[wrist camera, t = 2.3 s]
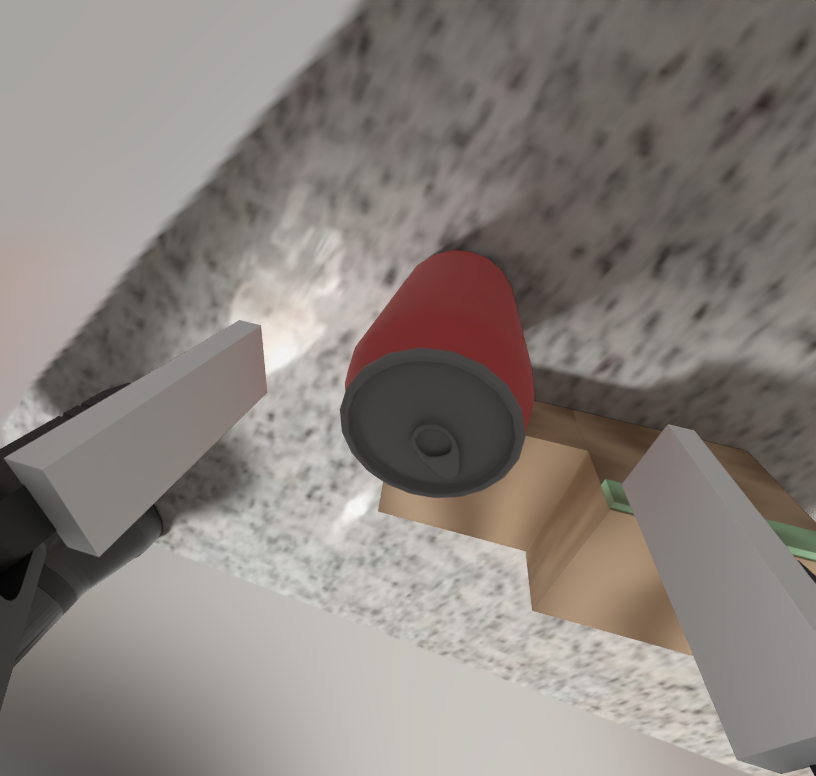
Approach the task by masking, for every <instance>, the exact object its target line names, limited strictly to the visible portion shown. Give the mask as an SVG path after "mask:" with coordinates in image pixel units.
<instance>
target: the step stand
mask: <svg viewBox="0 0 816 776" xmlns="http://www.w3.org/2000/svg"><path fill="white" fill-rule="evenodd" d="M661 433H662V431H660V430H656V429H652V428H648V427H644V426H639V425H635V424H631V423H627V422H623V421H618V420H614V419H610V418H606V417H601V416H597V415H593V414H589V413H585V412H580V411H576V410H572V409H568V408H563V407H559V406H555V405H551V404H547V403H542V402H538V401H534V404H533V408H532V412H531V415H530V419H529V422H528V426H527V429H526V432H525V436H526V437H525V441H524V444H523V447H522V451H521V454H520V458H519V460H518V461H517V462H516V464H515V465H514V466H513V467H512V469H511V470H510V471H509V472H508V474H507V475H506V476H505V477H504V478H503V479H501V480H499V481H498V482H496V483H495V484H493V485H491V486H490V487H488V488H487V489H485V490H483V491H479V492H476V493H472V494H469V495H465V496H462V497H450V498H431V497H426V496H420V495H414V494H410V493H407V492H405V491H402V490H400V489H397V488H395V487H392V486H390V485H388V484H386V483H385V482H383V486H382V492H381V498H380V503H379V509H378V511H379V512H382V513H386V514H390V515H394V516H397V517H401V518H405V519H408V520H412V521H416V522H420V523H423V524H427V525H431V526H434V527H438V528H442V529H446V530H449V531H453V532H457V533H460V534H464V535H468V536H472V537H475V538H479V539H483V540H486V541H490V542H494V543H498V544H501V545H505V546H509V547H512V548H516V549H520V550H523V551H526V558H527V568H528V577H529V586H530V595H531V604H532V611H536V612H539V613H543V614H546V615H550V616H553V617H557V618H560V619H564V620H568V621H571V622H575V623H578V624H582V625H585V626H589V627H592V628H596V629H599V630H603V631H607V632H610V633H614V634H617V635H621V636H624V637H628V638H631V639H635V640H639V641H642V642H646V643H649V644H653V645H656V646H660V647H663V648H667V649H671V650H674V651H678V652H681V653H685V654H688V655H692V656H693V654H692V651H691V649H690V647H689V644H688V642H687V640H686V637H685V635H684V632H683V630H682V628H681V625H680V623H679V621H678V618H677V616H676V613H675V611H674V609H673V606H672V604H671V601H670V599H669V597H668V594H667V592H666V590H665V587H664V585H663V582H662V580H661V578H660V575H659V573H658V570H657V568H656V566H655V563H654V561H653V559H652V556H651V554H650V551H649V549H648V547H647V544H646V542H645V539H644V537H643V535H642V532H641V530H640V528H639V525H638V523H637V520H636V518H635V516H634V513H633V511H632V509H631V506H630V504H629V501H628V499H627V497H626V494H625V492H624V489H623V487H622V483H623V482H624V481H625V479H626V478H627V477H628V476H629V474H630V473H631V472H632V470H633V469H634V468H635V466H636V465H637V464H638V462H639V461H640V460H641V459H642V457H643V456H644V455H645V453H646V452H647V451H648V449H649V448H650V447H651V446H652V444H653V443H654V442H655V440H656V439H657V438H658V436H659V435H660V434H661ZM702 441H703V440H702ZM703 442H704V443H705V445H706V446H707V447H708V448H709V450H710V451H711V452H712V453H713V455H714V456H715V457H716V458H717V460H718V461H719V462H720V464H721V465H722V466H723V467H724V469H725V470H726V471H727V472H728V474H729V475H730V476H731V477H732V479H733V480H734V481H735V483H736V484H737V485H738V486H739V488H740V489H741V490H742V491H743V493H744V494H745V495H746V496H747V498H748V499H749V500H750V501H751V503H752V504H753V505H754V507H755V508H756V509H757V510H758V512H759V513H760V514H761V515H762V517H763V518H764V519H765V520H766V522H767V523H768V524H769V525H770V527H771V528H772V529H773V531H774V532H775V533H776V534H777V536H778V537H779V538H780V539H781V541H782V542H783V543H784V544H785V546H786V547H787V548H788V549H789V551H790V552H791V553H792V555H793V556H794V557H795V558H796V560H799V561H800V562H801V563H802V564H803V565H804V566H806V567H807V568H808V569H809V570H810V571H811V572H812V573H813V574H814V575H816V522H815V521H814V520H813V519H812V518H811V517H810V516H809V515H808V514H807V513H806V512H805V511H804V510H803V509H802V507H801V506H800V505H799V504H798V503H797V502H796V501H795V500H794V499H793V498H792V497H791V496H790V495H789V494H788V493H787V492H786V491H785V490H784V489H783V488H782V487H781V486H780V484H779V483H778V482H777V481H776V480H775V479H774V478H773V477H772V476H771V475H770V474H769V473H768V472H767V471H766V470H765V469H764V468H763V467H762V466H761V465H760V464H759V463H758V461H757V460H756V459H755V458H754V457H753V456H752V455H751V454H750V453H749V452H748V451H745V450H741V449H736V448H732V447H728V446H724V445H720V444H715V443H711V442H707V441H703Z"/></svg>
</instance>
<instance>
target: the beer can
mask: <svg viewBox="0 0 816 776" xmlns="http://www.w3.org/2000/svg"><path fill="white" fill-rule="evenodd" d="M534 398H535V391H534V382H533V373H532V367H531V363H530V359H529V354H528V350H527V346H526V342H525V338H524V334H523V330H522V326H521V322H520V318H519V314H518V310H517V306H516V302H515V298H514V294H513V290H512V288H511V286H510V284H509V282H508V280H507V278H506V276H505V274H504V272H503V271H501V270H500V269H499V268H498V267H497V266H496V265H495V264H494V263H493V262H492V261H491V260H490V259H488V258H485V257H483V256H481V255H478V254H476V253H474V252H470V251H457V250H451V251H447V252H443V253H439V254H435V255H433V256H431V257H430V258H428V259H426V260H425V261H423V262H422V263H420V264H419V265H417V267H416V268H415V269H414V270H413V272H412V273H411V274H410V275H409V277H408V278H407V279H406V281H405V282H404V283H403V285H402V286H401V287H400V289H399V290H398V291H397V293H396V294H395V295H394V297H393V298H392V299H391V300H390V302H389V303H388V304H387V306H386V307H385V308H384V310H383V311H382V312H381V314H380V315H379V316H378V318H377V319H376V320H375V322H374V323H373V324H372V326H371V327H370V328H369V330H368V331H367V332H366V334H365V335H364V336H363V338H362V339H361V340H360V342H359V343H358V344H357V346H356V347H355V350H354V353H353V356H352V359H351V363H350V366H349V369H348V373H347V377H346V381H345V395H344V398H343V402H342V405H341V408H340V415H341V427H342V433H343V435H344V437H345V439H346V442H347V444H348V446H349V448H350V450H351V452H352V454H353V455H354V456H355V457H356V458H357V459H358V460H359V462H360V463H361V464H362V465H363V466H364V467H365V468H366V470H368V471H369V472H370V473H372V474H373V475H375V476H376V477H377V478H379V479H380V480H382V481H383V482H385V483H386V484H388V485H390V486H392V487H395V488H397V489H400V490H402V491H405V492H407V493H410V494H414V495H420V496H426V497H431V498H450V497H462V496H465V495H469V494H472V493H476V492H479V491H483V490H485V489H487V488H488V487H490V486H491V485H493V484H495V483H496V482H498V481H499V480H501V479H503V478H504V477H505V476H506V475H507V474H508V472H509V471H510V470H511V469H512V467H513V466H514V465H515V464H516V462H517V461H518V460H519V458H520V454H521V451H522V447H523V444H524V441H525V437H526V436H525V432H526V429H527V426H528V422H529V419H530V415H531V412H532V408H533V404H534Z"/></svg>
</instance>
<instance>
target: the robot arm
mask: <svg viewBox="0 0 816 776" xmlns="http://www.w3.org/2000/svg"><path fill="white" fill-rule="evenodd" d="M266 393H267V386H266V375H265V364H264V353H263V342H262V331H261V325H257V324H253V323H249V322H245V321H241V320H239V321H237V322H236V323H234V324H232V325H231V326H229V327H227V328H226V329H224V330H222V331H220V332H219V333H217V334H215V335H214V336H212V337H210V338H208V339H207V340H205V341H203V342H202V343H200V344H198V345H196V346H195V347H193V348H191V349H190V350H188V351H186V352H184V353H183V354H181V355H179V356H178V357H176V358H174V359H172V360H171V361H169V362H167V363H166V364H164V365H162V366H160V367H159V368H157V369H155V370H154V371H152V372H150V373H148V374H147V375H145V376H143V377H142V378H140V379H138V380H137V381H135V382H133V383H126V384H123V385H120V386H117V387H114V388H111V389H108V390H105V391H103V392H101V393H99V394H97V395H96V396H94V397H92V398H90V399H88V400H87V401H85V402H83V403H82V405H81V406H76V407H74V408H72V409H71V410H69V411H67V412H65V413H64V415H63V416H62V417H60V416H58V417H56V418H55V419H53V420H51V421H49V422H47V423H46V424H44V425H42V426H40V427H39V428H37V429H35V430H33V431H31V432H30V433H28V434H26V435H24V436H23V437H21V438H19V439H17V440H15V441H14V442H12V443H10V444H8V445H7V446H5V447H3V448H1V449H0V710H1V707H2V704H3V700H4V697H5V693H6V690H7V686H8V683H9V680H10V676H11V673H12V669H13V667H14V666H15V665H16V664H17V663H18V662H19V661H20V660H21V659H22V658H23V657H24V656H25V655H26V654H27V653H28V652H29V651H30V649H31V648H32V647H33V646H34V645H35V644H36V643H37V642H38V641H39V640H40V639H41V638H42V637H43V636H44V635H45V634H46V633H47V632H48V631H49V629H50V628H51V627H52V626H53V625H54V624H55V623H56V622H57V621H58V620H59V619H60V618H61V617H62V616H63V615H64V613H66V612H67V610H68V609H69V608H70V607H71V606H72V605H73V604H74V603H75V602H76V601H77V600H78V599H79V598H80V597H81V596H82V595H83V594H84V593H85V592H87V591H88V590H89V589H90V588H92V587H94V586H95V585H97V584H98V583H99V582H101V581H102V580H104V579H105V578H107V577H108V576H110V575H111V574H113V573H114V572H116V571H117V570H118V569H120V568H121V567H123V566H124V565H125V564H127V563H128V562H129V561H131V560H132V559H134V558H136V557H138V556H140V555H141V554H142V553H144V552H145V551H146V550H147V549H148V548H149V547H150V546H151V545H152V543H153V542H154V541H155V540H156V539H157V538H158V537H159V536H160V534H161V532H162V523H161V520H160V517H159V515H158V513H157V512H156V510H155V508H154V507H153V506H152V505H153V504H154V503H155V502H156V501H157V500H158V499H159V498H160V497H161V496H162V495H163V494H164V493H165V492H166V491H167V490H168V489H169V488H170V487H171V486H172V485H173V484H174V483H175V482H176V481H177V480H178V479H179V478H180V477H181V476H182V475H183V474H184V473H186V472H187V471H188V470H189V469H190V468H191V467H192V466H193V465H194V464H195V463H196V462H197V461H198V460H199V459H200V458H201V457H202V456H203V455H204V454H205V453H206V452H207V451H208V450H209V449H210V448H211V447H212V446H213V445H214V444H215V443H216V442H217V441H218V440H219V439H220V438H221V437H222V436H223V435H224V434H225V433H226V432H227V431H228V430H229V429H230V428H231V427H232V426H233V425H235V424H236V423H237V422H238V421H239V420H240V419H241V418H242V417H243V416H244V415H245V414H246V413H247V412H248V411H249V410H250V409H251V408H252V407H253V406H254V405H255V404H256V403H257V402H258V401H259V400H260V399H261V398H262V397H263V396H264V395H265V394H266ZM622 487H623V489H624V492H625V494H626V497H627V499H628V501H629V504H630V506H631V509H632V511H633V513H634V516H635V518H636V520H637V523H638V525H639V528H640V530H641V532H642V535H643V537H644V539H645V542H646V544H647V547H648V549H649V551H650V554H651V556H652V559H653V561H654V563H655V566H656V568H657V570H658V573H659V575H660V578H661V580H662V582H663V585H664V587H665V590H666V592H667V594H668V597H669V599H670V601H671V604H672V606H673V609H674V611H675V613H676V616H677V618H678V621H679V623H680V625H681V628H682V630H683V632H684V635H685V637H686V640H687V642H688V644H689V647H690V649H691V651H692V654H693V656H694V659H695V661H696V663H697V666H698V668H699V671H700V673H701V675H702V678H703V680H704V682H705V685H706V687H707V690H708V692H709V694H710V697H711V699H712V702H713V704H714V706H715V709H716V711H717V713H718V716H719V718H720V721H721V723H722V725H723V728H724V730H725V733H726V735H727V737H728V740H729V742H730V744H731V747H732V749H733V752H734V754H735V756H736V759H737V760H739V761H742V762H745V763H749V764H752V765H755V766H758V767H761V768H764V769H768V770H771V771H774V772H777V773H780V774H783V773H787V772H791V771H795V770H799V769H803V768H807V767H810V768H811V770H812V772H813V773H814V775H815V776H816V575H814V574H813V573H812V572H811V571H810V570H809V569H808V568H807V567H806V566H804V565H803V564H802V563H801V562H800V561H799V560H796V558H795V557H794V556H793V555H792V553H791V552H790V551H789V549H788V548H787V547H786V546H785V544H784V543H783V542H782V541H781V539H780V538H779V537H778V536H777V534H776V533H775V532H774V531H773V529H772V528H771V527H770V525H769V524H768V523H767V522H766V520H765V519H764V518H763V517H762V515H761V514H760V513H759V512H758V510H757V509H756V508H755V507H754V505H753V504H752V503H751V501H750V500H749V499H748V498H747V496H746V495H745V494H744V493H743V491H742V490H741V489H740V488H739V486H738V485H737V484H736V483H735V481H734V480H733V479H732V477H731V476H730V475H729V474H728V472H727V471H726V470H725V469H724V467H723V466H722V465H721V464H720V462H719V461H718V460H717V458H716V457H715V456H714V455H713V453H712V452H711V451H710V450H709V448H708V447H707V446H706V445H705V443H704V442H703V441H702V440H701V438H700V437H699V436H698V434H697V433H696V432H695V431H694V430H690V429H686V428H682V427H678V426H674V425H669V424H668V425H667V426H666V427H665V429H664V430H663V431H662V433H661V434H660V435H659V436H658V438H657V439H656V440H655V442H654V443H653V444H652V446H651V447H650V448H649V449H648V451H647V452H646V453H645V455H644V456H643V457H642V459H641V460H640V461H639V462H638V464H637V465H636V466H635V468H634V469H633V470H632V472H631V473H630V474H629V476H628V477H627V478H626V479H625V481H624V482H623V483H622Z"/></svg>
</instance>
